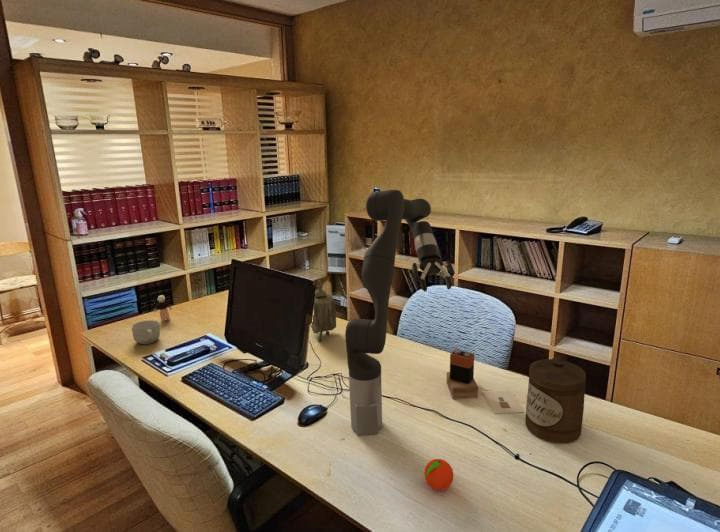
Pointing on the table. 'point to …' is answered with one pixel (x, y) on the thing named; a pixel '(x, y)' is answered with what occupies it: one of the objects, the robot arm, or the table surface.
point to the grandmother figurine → (163, 309)
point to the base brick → (462, 388)
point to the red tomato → (438, 474)
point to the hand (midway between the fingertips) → (437, 289)
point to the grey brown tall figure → (323, 312)
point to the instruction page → (502, 402)
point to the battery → (461, 366)
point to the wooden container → (555, 400)
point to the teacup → (146, 331)
